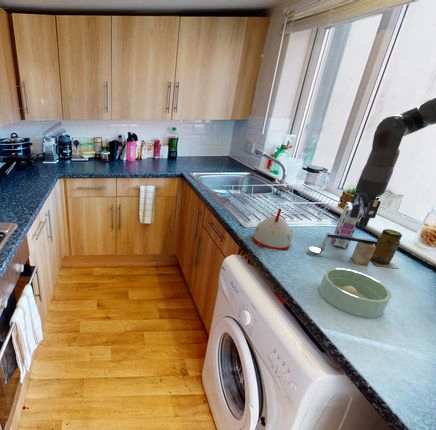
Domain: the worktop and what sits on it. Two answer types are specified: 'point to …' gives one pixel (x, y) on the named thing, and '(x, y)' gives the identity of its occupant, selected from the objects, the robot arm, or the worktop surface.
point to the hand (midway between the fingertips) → (357, 221)
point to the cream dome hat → (273, 233)
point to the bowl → (366, 292)
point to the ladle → (317, 252)
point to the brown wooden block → (363, 253)
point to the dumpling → (350, 290)
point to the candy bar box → (346, 226)
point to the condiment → (386, 248)
